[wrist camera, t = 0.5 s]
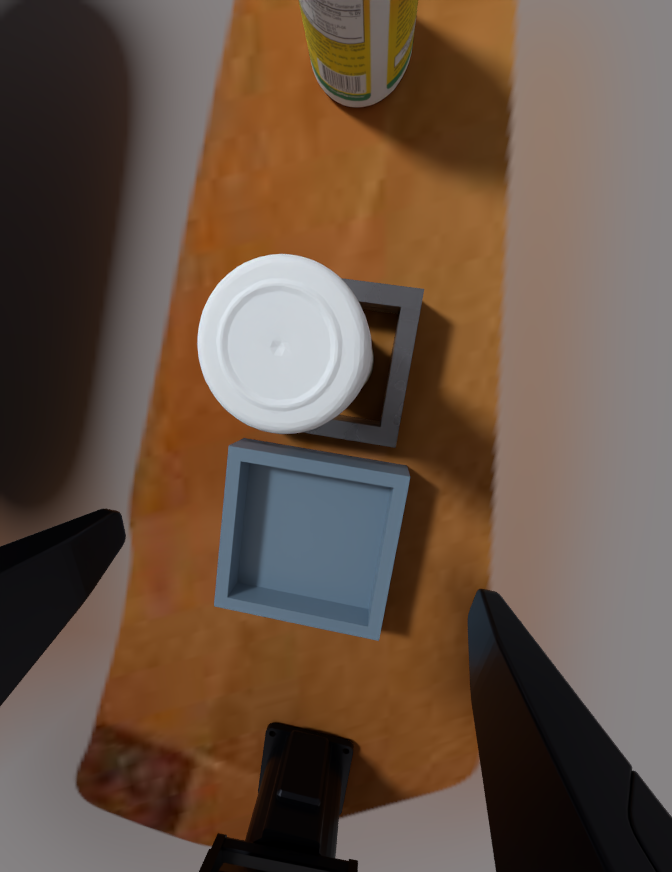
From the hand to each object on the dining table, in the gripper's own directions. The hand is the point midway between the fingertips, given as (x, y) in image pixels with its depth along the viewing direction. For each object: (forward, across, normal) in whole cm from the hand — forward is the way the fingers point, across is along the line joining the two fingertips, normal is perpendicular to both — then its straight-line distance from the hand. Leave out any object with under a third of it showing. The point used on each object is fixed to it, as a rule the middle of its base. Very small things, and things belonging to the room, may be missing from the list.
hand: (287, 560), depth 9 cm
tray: (+12, +2, +10) cm, 16 cm away
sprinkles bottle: (+15, +2, -1) cm, 16 cm away
